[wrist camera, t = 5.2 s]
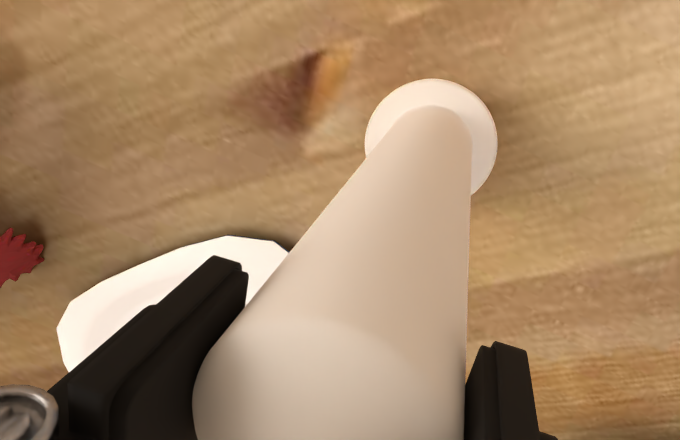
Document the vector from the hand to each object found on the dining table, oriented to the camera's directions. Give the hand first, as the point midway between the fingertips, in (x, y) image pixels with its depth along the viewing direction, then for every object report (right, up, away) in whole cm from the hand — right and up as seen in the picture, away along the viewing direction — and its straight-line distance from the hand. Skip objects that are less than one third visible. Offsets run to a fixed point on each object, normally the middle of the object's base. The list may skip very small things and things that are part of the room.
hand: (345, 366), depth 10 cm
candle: (+5, +7, +18) cm, 20 cm away
